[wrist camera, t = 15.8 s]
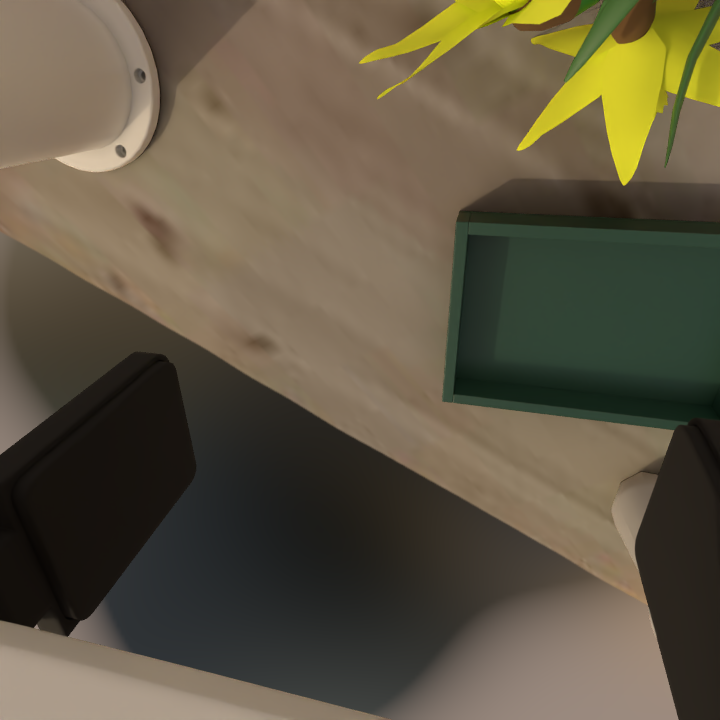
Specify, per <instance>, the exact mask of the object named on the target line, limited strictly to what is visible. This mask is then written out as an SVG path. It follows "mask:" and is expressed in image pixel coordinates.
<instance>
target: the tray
mask: <svg viewBox="0 0 720 720" xmlns="http://www.w3.org/2000/svg"><path fill="white" fill-rule="evenodd" d="M442 401H443V402H451V403H452V402H453V403H460V404H468V405H476V406H484V407H492V408H500V409H508V410H516V411H524V412H532V413H540V414H549V415H557V416H565V417H573V418H581V419H589V420H597V421H605V422H613V423H621V424H629V425H637V426H646V427H654V428H662V429H670V430H675V429H676V427H677V426H678V425H687V424H688V422H689V421H690V420H691V419H693V418H703V419H711V420H720V222H698V221H676V220H653V219H631V218H609V217H586V216H564V215H541V214H519V213H497V212H474V211H460V212H459V215H458V218H457V221H456V230H455V243H454V256H453V268H452V281H451V294H450V306H449V319H448V332H447V344H446V357H445V370H444V383H443V395H442Z"/></svg>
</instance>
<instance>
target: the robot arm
mask: <svg viewBox="0 0 720 720" xmlns="http://www.w3.org/2000/svg"><path fill="white" fill-rule="evenodd" d="M145 75H146V77H145ZM159 110H160V88H159V81H158V74H157V69H156V65H155V62H154V58H153V55H152V51H151V49H150V47H149V44H148V42H147V40H146V38H145V35H144V33H143V31H142V29H141V27H140V26H139V24H138V23H137V21H136V19H135V18H134V16H133V15H132V13H131V11H130V10H129V9H128V8H127V7H126V6H125V4H124V3H123V2H122V1H121V0H0V169H2V168H7V167H12V166H17V165H22V164H27V163H32V162H37V161H42V160H47V159H52V158H55V159H57V160H59V161H60V162H62V163H64V164H66V165H68V166H71V167H73V168H76V169H79V170H83V171H90V172H103V171H110V170H114V169H118V168H121V167H123V166H125V165H127V164H129V163H131V162H133V161H134V160H135V159H136V158H137V157H138V156H140V155H141V154H142V153H143V152H144V150H145V149H146V147H147V146H148V144H149V143H150V141H151V139H152V136H153V134H154V131H155V129H156V126H157V121H158V115H159ZM195 472H196V461H195V456H194V452H193V447H192V442H191V438H190V433H189V428H188V423H187V419H186V414H185V409H184V405H183V401H182V396H181V391H180V387H179V381H178V377H177V372H176V368H175V366H174V365H173V364H172V363H170V362H169V360H168V359H167V357H166V356H164V355H162V354H154V353H146V352H134V353H133V354H131V355H129V356H128V357H127V358H125V359H124V360H123V361H122V362H120V363H119V364H118V365H116V366H115V367H114V368H112V369H111V370H110V371H109V372H107V373H106V374H105V375H103V376H102V377H101V378H100V379H98V380H97V381H96V382H94V383H93V384H92V385H90V386H89V387H88V388H86V389H85V390H84V391H83V392H81V393H80V394H79V395H77V396H76V397H75V398H73V399H72V400H71V401H70V402H68V403H67V404H66V405H64V406H63V407H62V408H60V409H59V410H58V411H57V412H55V413H54V414H53V415H51V416H50V417H49V418H48V419H46V420H45V421H44V422H42V423H41V424H40V425H39V426H37V427H36V428H35V429H33V430H32V431H31V432H29V433H28V434H27V435H25V436H24V437H23V438H21V439H20V440H19V441H18V442H16V443H15V444H14V445H12V446H11V447H10V448H8V449H7V450H6V451H5V452H3V453H2V454H1V455H0V720H391V719H387V718H383V717H379V716H375V715H372V714H368V713H364V712H360V711H356V710H352V709H348V708H344V707H340V706H337V705H333V704H329V703H325V702H321V701H317V700H314V699H310V698H306V697H302V696H298V695H294V694H290V693H286V692H283V691H279V690H274V689H271V688H267V687H263V686H259V685H256V684H252V683H248V682H244V681H240V680H236V679H232V678H228V677H224V676H220V675H217V674H212V673H209V672H205V671H201V670H197V669H193V668H189V667H185V666H181V665H178V664H174V663H169V662H166V661H162V660H158V659H154V658H150V657H146V656H142V655H138V654H134V653H130V652H126V651H122V650H118V649H114V648H110V647H106V646H102V645H98V644H94V643H90V642H86V641H82V640H78V639H74V638H71V637H68V636H69V635H70V633H71V632H72V631H73V629H74V628H75V627H76V625H77V624H78V623H79V621H80V620H85V619H87V618H88V617H89V616H90V615H91V614H92V613H93V612H94V611H95V609H96V608H97V607H98V605H99V604H100V603H101V601H102V600H103V599H104V597H105V596H106V595H107V593H108V592H109V591H110V589H111V588H112V587H113V585H114V584H115V583H116V581H117V580H118V579H119V577H120V576H121V575H122V573H123V572H124V571H125V569H126V568H127V567H128V566H129V564H130V563H131V561H132V560H133V559H134V558H135V556H136V555H137V554H138V552H139V551H140V550H141V548H142V547H143V546H144V544H145V543H146V542H147V540H148V539H149V538H150V536H151V535H152V534H153V532H154V531H155V529H156V528H157V527H158V526H159V524H160V523H161V522H162V520H163V519H164V518H165V516H166V515H167V514H168V512H169V511H170V510H171V508H172V507H173V506H174V504H175V503H176V502H177V501H178V499H179V498H180V497H181V495H182V494H183V493H184V491H185V490H186V489H187V487H188V485H190V483H191V482H192V480H193V478H194V476H195ZM635 557H636V562H637V566H638V569H639V573H640V577H641V581H642V584H643V588H644V592H645V595H646V599H647V603H648V607H649V610H650V614H651V618H652V622H653V625H654V629H655V633H656V637H657V640H658V644H659V648H660V651H661V655H662V659H663V663H664V666H665V670H666V674H667V678H668V681H669V685H670V689H671V692H672V696H673V700H674V703H675V707H676V711H677V715H678V719H679V720H720V420H711V419H703V418H693V419H691V420H690V421H689V422H688V424H687V425H678V426H677V427H676V429H675V431H674V433H673V436H672V439H671V441H670V444H669V447H668V450H667V453H666V455H665V458H664V461H663V464H662V466H661V469H660V472H659V475H658V478H657V480H656V483H655V486H654V489H653V491H652V494H651V497H650V500H649V503H648V505H647V508H646V511H645V514H644V516H643V519H642V522H641V525H640V528H639V530H638V533H637V536H636V540H635ZM36 624H37V625H38V627H39V629H40V630H39V629H35V628H34V627H35V626H36Z"/></svg>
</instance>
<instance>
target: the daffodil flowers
mask: <svg viewBox="0 0 720 720" xmlns="http://www.w3.org/2000/svg"><path fill="white" fill-rule="evenodd" d="M455 1H456V2H455V3H454V4H452V5H451V6H450V7H448V8H447V9H445V10H444V11H443V12H441V13H440V14H439V15H437V16H436V17H435V18H433V19H432V20H431V21H429V22H428V23H426V24H425V25H424V26H422V27H421V28H419V29H418V30H416V31H415V32H413V33H412V34H410V35H409V36H407V37H406V38H404V39H403V40H401V41H400V42H398V43H397V44H394V45H391V46H387V47H384V48H381V49H377V50H375V51H374V52H372V53H371V54H369V55H367V56H366V57H364V58H363V59H362V60H361V61H360V62H359V64H362V63H367V62H370V61H374V60H379V59H384V58H388V57H392V56H396V55H400V54H404V53H408V52H411V51H414V50H417V49H419V48H422V47H425V46H428V45H430V44H433V43H436V42H439V41H441V40H442V41H441V42H440V43H439V44H438V45H437V47H436V48H435V49H434V50H433V51H432V52H431V54H430V55H429V56H428V57H427V58H426V60H425V61H424V62H423V63H422V64H421V65H420V67H419V68H418V69H417V70H416V71H415V72H414V73H413V74H412V75H411V76H410V77H408V78H407V79H405V80H404V81H402V82H400V83H399V84H397V85H395V86H393V87H391V88H388V89H386V90H385V91H384V92H383V93H381V94H380V95H379V96H378V97H377V99H379V98H381V97H382V96H384V95H385V94H387V93H388V92H389V91H391V90H392V89H393V88H395V87H396V86H398V85H401V84H403V83H404V82H406V81H407V80H408V79H410V78H411V77H413V76H414V75H415V74H417V73H418V72H419V71H421V70H422V69H423V68H425V67H426V66H428V65H429V64H430V63H432V62H433V61H434V60H436V59H437V58H439V57H440V56H441V55H443V54H444V53H446V52H447V51H448V50H450V49H451V48H452V47H454V46H455V45H456V44H458V43H459V42H460V41H461V40H463V39H464V38H465V37H467V36H468V35H469V34H470V33H472V32H473V31H474V30H476V29H478V28H482V27H485V26H488V25H490V24H492V23H495V22H497V21H499V20H502V19H504V18H506V17H508V16H509V17H508V19H507V20H506V22H505V23H504V25H503V26H502V27H504V26H506V25H509V24H511V23H513V25H514V26H515V27H516V28H517V29H518V30H520V31H543V30H546V29H549V28H552V27H555V26H558V25H560V24H563V23H566V22H569V21H571V20H572V19H573V18H574V17H576V16H577V15H579V14H581V13H582V12H584V11H585V10H587V9H588V8H590V7H592V6H593V5H595V4H596V3H597V2H599V1H600V0H455ZM698 2H699V0H658V1H656V0H604V1H603V3H602V6H601V8H600V10H599V12H598V15H597V17H596V19H595V21H594V24H589V25H582V26H577V27H573V28H569V29H564V30H560V31H557V32H553V33H550V34H546V35H541V36H537V37H534V38H532V39H531V42H532V43H533V44H534V45H535V44H541V45H543V46H545V47H547V48H550V49H552V50H556V51H559V52H562V53H565V54H568V55H571V56H574V57H575V58H574V60H573V62H572V64H571V66H570V69H569V71H568V73H567V75H566V77H565V79H564V82H566V83H565V84H564V85H563V87H562V88H561V89H560V90H559V91H558V93H557V94H556V95H555V96H554V97H553V99H552V100H551V101H550V103H549V104H548V105H547V107H546V108H545V109H544V111H543V112H542V113H541V115H540V116H539V118H538V119H537V120H536V122H535V123H534V125H533V126H532V128H531V129H530V131H529V132H528V133H527V135H526V136H525V138H524V139H523V140H522V142H521V143H520V145H519V147H518V148H517V151H520V150H523V149H525V148H527V147H529V146H531V145H532V144H533V143H534V142H535V141H536V140H537V139H538V138H539V137H540V136H541V135H543V134H544V133H546V132H548V131H549V130H551V129H552V128H554V127H556V126H557V125H559V124H560V123H562V122H563V121H565V120H566V119H568V118H569V117H571V116H572V115H574V114H575V113H576V112H578V111H579V110H581V109H582V108H584V107H585V106H587V105H588V104H590V103H591V102H592V101H594V100H595V99H597V98H598V97H599V96H600V95H602V101H603V108H604V115H605V122H606V129H607V134H608V139H609V143H610V148H611V152H612V156H613V159H614V162H615V166H616V169H617V172H618V175H619V179H620V181H621V183H622V184H623V185H626V184H627V183H628V182H629V181H630V179H631V178H632V176H633V174H634V172H635V170H636V168H637V166H638V162H639V159H640V156H641V152H642V149H643V146H644V143H645V141H646V138H647V135H648V133H649V130H650V127H651V125H652V122H653V120H654V118H655V116H656V113H657V112H659V113H663V108H664V105H668V102H667V98H668V95H667V92H666V91H668V92H671V93H674V94H677V96H676V100H675V103H674V107H673V111H672V118H671V125H670V133H669V140H668V148H667V154H666V161H665V167H666V165H667V162H668V159H669V156H670V152H671V149H672V146H673V141H674V137H675V132H676V128H677V123H678V119H679V114H680V110H681V107H682V104H683V101H684V98H685V97H687V98H690V99H693V100H697V101H700V102H704V103H707V104H711V105H715V106H718V107H720V51H718V50H716V49H715V48H713V47H711V46H709V45H711V44H714V43H718V42H720V0H715V2H714V3H713V5H712V6H710V7H705V8H700V9H695V8H696V6H697V4H698ZM694 9H695V10H694Z"/></svg>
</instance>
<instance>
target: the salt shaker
mask: <svg viewBox="0 0 720 720" xmlns="http://www.w3.org/2000/svg"><path fill="white" fill-rule="evenodd" d="M657 478H658V475H657V474H651V473H645V472H640V473H638V474H636V475H634V476H632V477H630V478H628V479H626V480H624V481H622V482H621V483H620V486H619V489H618V491H617V494H616V497H615V499H614V502H613V505H612V515H613V519H614V523H615V526H616V528H617V530H618V532H619V534H620V536H621V538H622V540H623V542H624V543H625V545H626V547H627V549H628V551H629V553H630V555H631V557H632V559H633V561H634V563H635V565H636V567H637V569H638V566H637V562H636V557H635V540H636V536H637V533H638V530H639V528H640V525H641V522H642V519H643V516H644V514H645V511H646V508H647V505H648V503H649V500H650V497H651V494H652V491H653V489H654V486H655V483H656V480H657ZM638 571H639V569H638ZM648 613H649V618H650V622H651V626H652V630H653V632H654V634H655V636H656V633H655V629H654V625H653V622H652V618H651V614H650V610H649V608H648ZM656 638H657V637H656Z"/></svg>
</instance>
